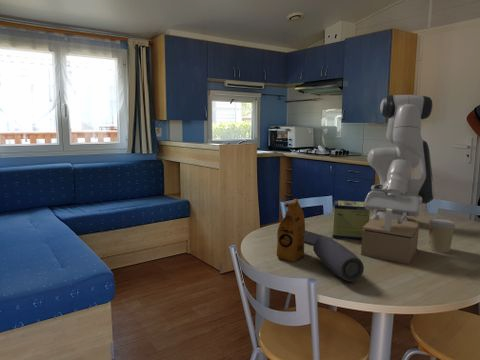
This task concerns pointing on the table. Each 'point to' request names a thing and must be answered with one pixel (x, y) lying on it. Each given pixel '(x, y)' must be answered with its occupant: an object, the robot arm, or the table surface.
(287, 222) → the coffee package
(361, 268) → the bluetooth speaker
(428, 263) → the table surface
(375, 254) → the carton
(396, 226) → the carton lid
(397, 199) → the robot arm
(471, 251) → the table surface
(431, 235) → the coffee cup
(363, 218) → the protein box
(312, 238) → the notebook
